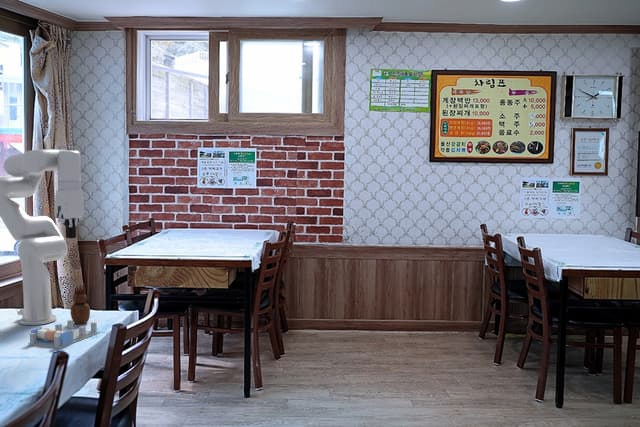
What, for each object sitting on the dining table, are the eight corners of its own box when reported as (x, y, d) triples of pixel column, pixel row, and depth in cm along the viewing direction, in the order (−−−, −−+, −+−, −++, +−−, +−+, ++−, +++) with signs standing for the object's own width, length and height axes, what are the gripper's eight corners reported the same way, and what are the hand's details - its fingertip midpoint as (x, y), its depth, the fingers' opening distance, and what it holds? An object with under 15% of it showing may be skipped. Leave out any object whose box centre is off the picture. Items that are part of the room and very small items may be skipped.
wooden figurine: (93, 321, 244) (91, 282, 243) (83, 325, 238) (81, 285, 237) (78, 320, 246) (77, 281, 245) (68, 324, 241) (66, 284, 239)
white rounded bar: (35, 339, 216) (36, 328, 216) (42, 339, 219) (44, 328, 220) (61, 342, 212) (63, 331, 213) (69, 342, 216) (70, 331, 216)
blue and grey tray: (28, 344, 215) (27, 331, 214) (68, 330, 233) (67, 317, 232) (60, 348, 210) (59, 334, 210) (98, 333, 228) (98, 320, 228)
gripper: (76, 184, 235) (77, 234, 237) (45, 186, 221) (46, 240, 223) (93, 185, 232) (94, 236, 234) (62, 187, 219) (63, 241, 221)
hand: (71, 237), depth 229 cm, fingers closed
